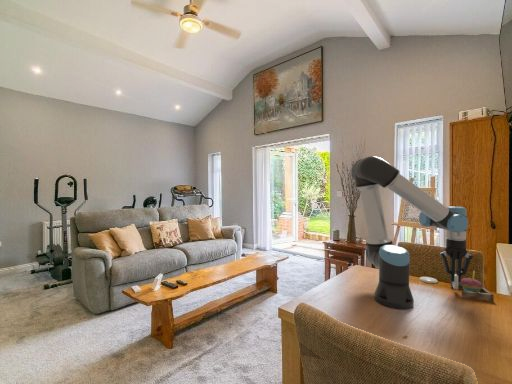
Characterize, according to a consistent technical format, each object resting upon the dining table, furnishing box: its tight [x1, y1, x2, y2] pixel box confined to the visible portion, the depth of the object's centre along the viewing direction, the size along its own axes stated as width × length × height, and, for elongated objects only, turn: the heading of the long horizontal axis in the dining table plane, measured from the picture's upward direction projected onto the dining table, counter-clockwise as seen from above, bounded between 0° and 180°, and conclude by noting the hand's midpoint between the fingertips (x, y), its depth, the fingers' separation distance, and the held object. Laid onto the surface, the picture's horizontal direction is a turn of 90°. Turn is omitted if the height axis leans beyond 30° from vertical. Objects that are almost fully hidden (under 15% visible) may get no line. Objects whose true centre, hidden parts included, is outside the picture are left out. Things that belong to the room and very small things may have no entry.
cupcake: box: [459, 269, 484, 292], centre depth 122 cm, size 9×8×12 cm
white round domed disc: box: [419, 276, 439, 284], centre depth 139 cm, size 8×8×1 cm
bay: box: [449, 280, 495, 302], centre depth 122 cm, size 11×14×3 cm
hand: (455, 288), depth 124 cm, fingers closed
